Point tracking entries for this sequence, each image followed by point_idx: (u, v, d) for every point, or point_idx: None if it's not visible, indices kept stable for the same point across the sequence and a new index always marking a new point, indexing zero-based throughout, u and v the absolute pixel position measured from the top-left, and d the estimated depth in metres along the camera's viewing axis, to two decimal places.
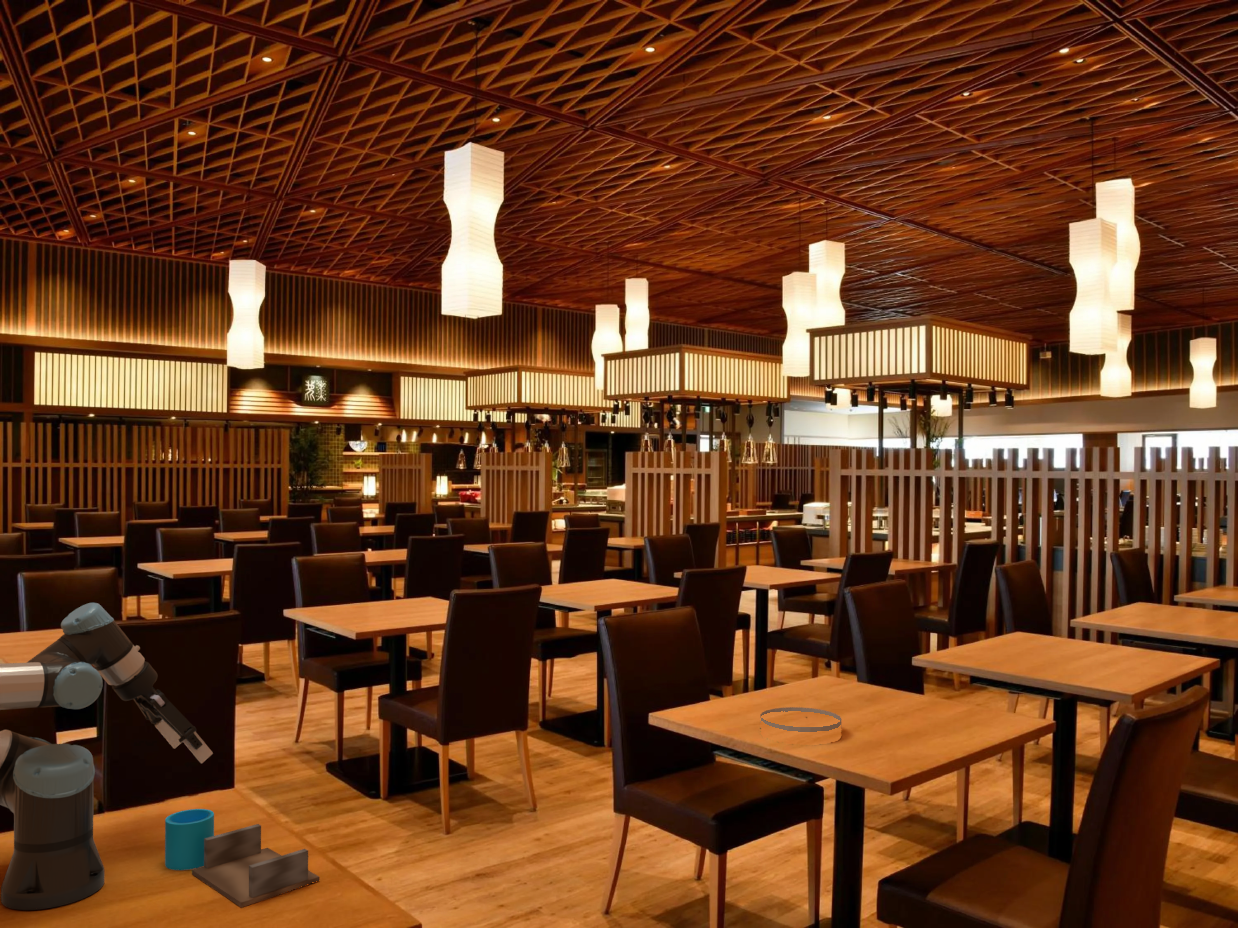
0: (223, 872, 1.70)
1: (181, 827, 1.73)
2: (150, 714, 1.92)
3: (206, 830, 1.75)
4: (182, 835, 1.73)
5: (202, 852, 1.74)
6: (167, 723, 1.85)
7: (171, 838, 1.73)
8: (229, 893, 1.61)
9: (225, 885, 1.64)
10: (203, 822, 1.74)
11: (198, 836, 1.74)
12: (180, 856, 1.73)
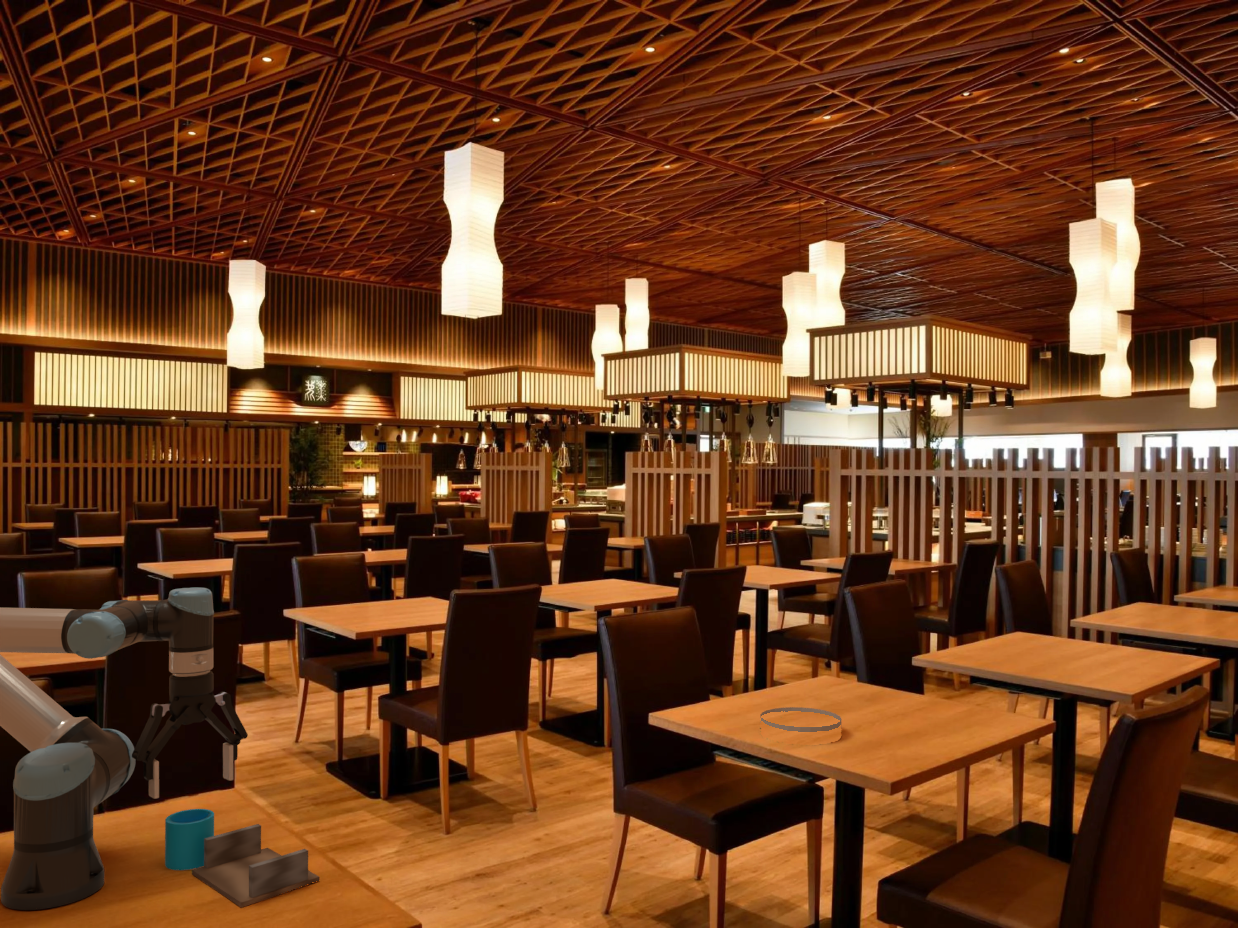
0: (223, 872, 1.70)
1: (181, 827, 1.73)
2: (214, 727, 1.83)
3: (206, 830, 1.75)
4: (182, 835, 1.73)
5: (202, 852, 1.74)
6: None
7: (171, 838, 1.73)
8: (229, 893, 1.61)
9: (225, 885, 1.64)
10: (203, 822, 1.74)
11: (198, 836, 1.74)
12: (180, 856, 1.73)
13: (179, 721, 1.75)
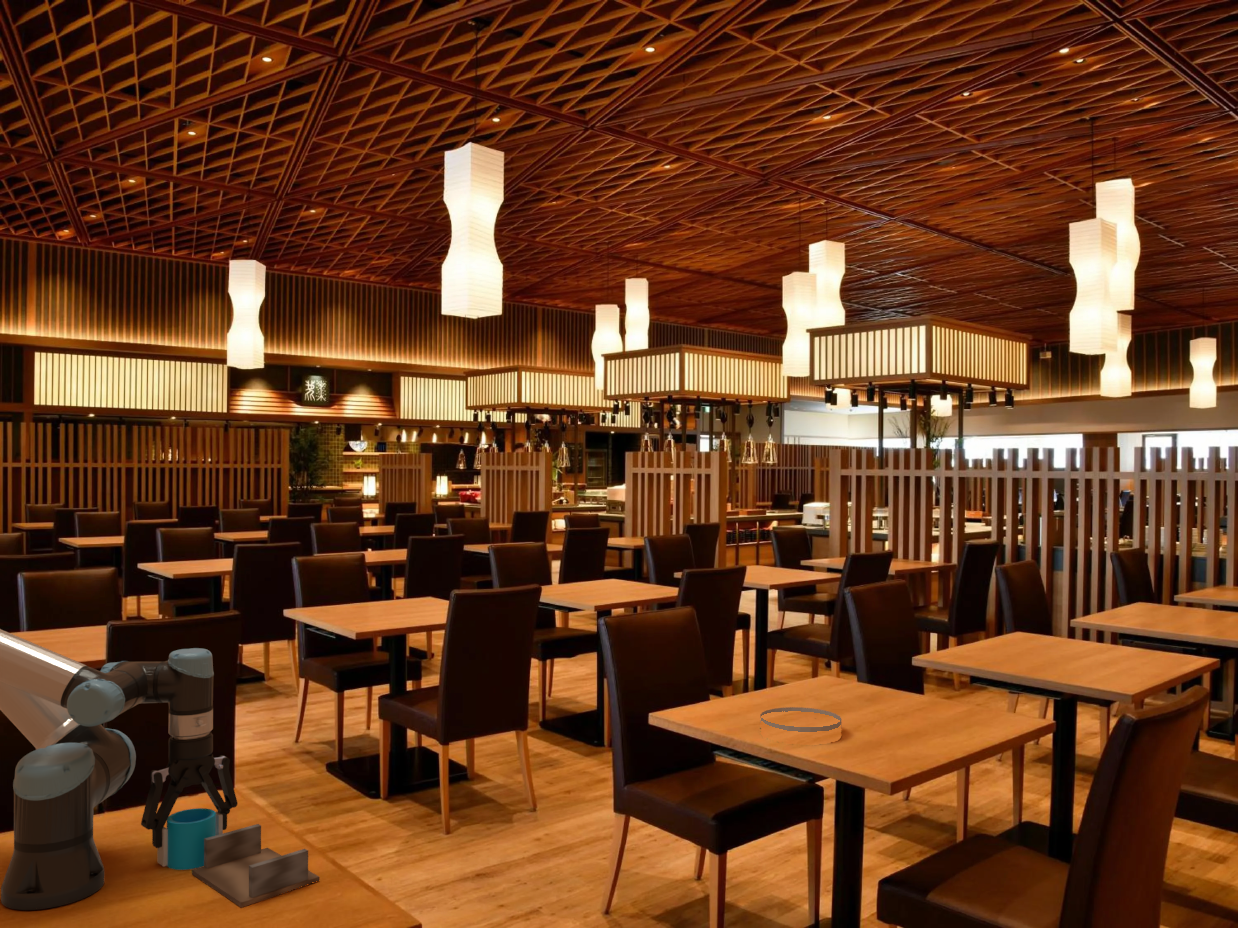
0: (223, 872, 1.70)
1: (183, 826, 1.73)
2: (207, 792, 1.82)
3: (208, 829, 1.75)
4: (184, 834, 1.73)
5: None
6: None
7: (173, 837, 1.73)
8: (229, 893, 1.61)
9: (225, 885, 1.64)
10: (205, 821, 1.75)
11: (199, 835, 1.74)
12: (181, 856, 1.73)
13: (180, 785, 1.76)
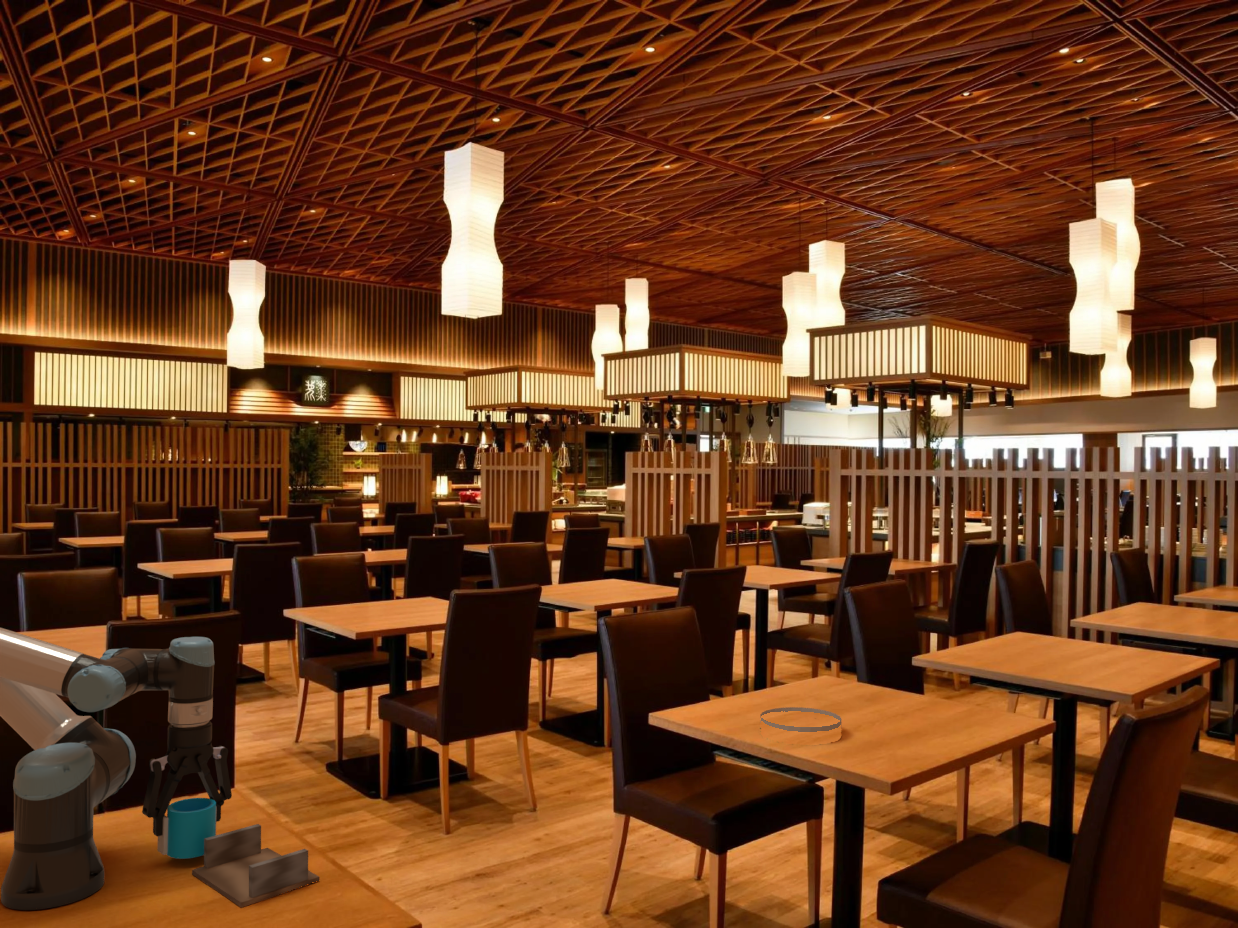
0: (223, 872, 1.70)
1: (183, 815, 1.73)
2: (202, 782, 1.81)
3: (208, 818, 1.76)
4: (184, 823, 1.73)
5: None
6: None
7: (173, 826, 1.74)
8: (229, 893, 1.61)
9: (225, 885, 1.64)
10: (205, 811, 1.75)
11: (200, 824, 1.74)
12: (181, 844, 1.73)
13: (180, 773, 1.76)
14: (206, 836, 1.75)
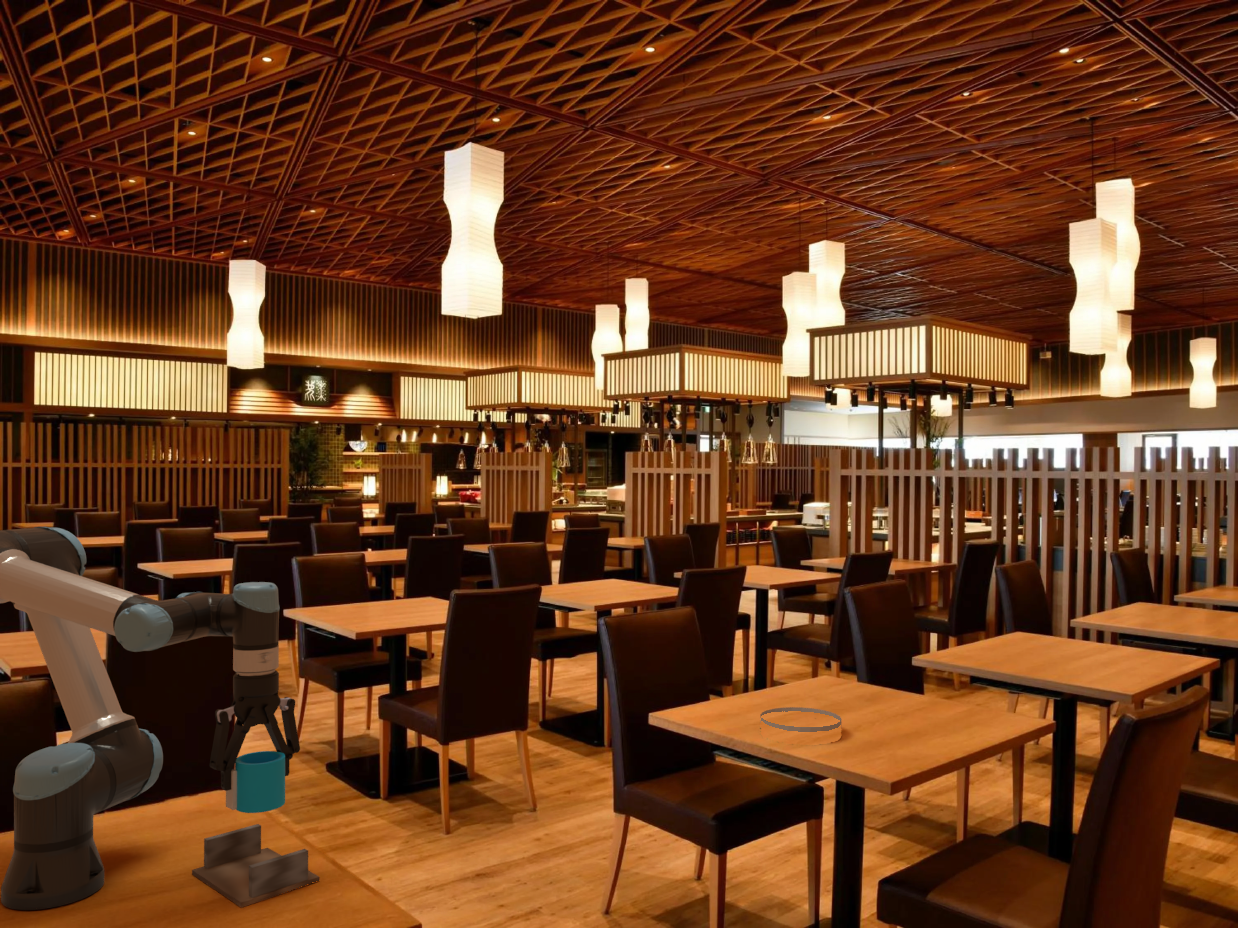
0: (223, 872, 1.70)
1: (253, 767, 1.64)
2: None
3: (278, 771, 1.67)
4: (254, 776, 1.64)
5: (275, 794, 1.66)
6: None
7: (242, 779, 1.65)
8: (229, 893, 1.61)
9: (225, 885, 1.64)
10: (275, 763, 1.66)
11: (270, 777, 1.65)
12: (252, 798, 1.64)
13: (247, 724, 1.67)
14: (277, 789, 1.66)
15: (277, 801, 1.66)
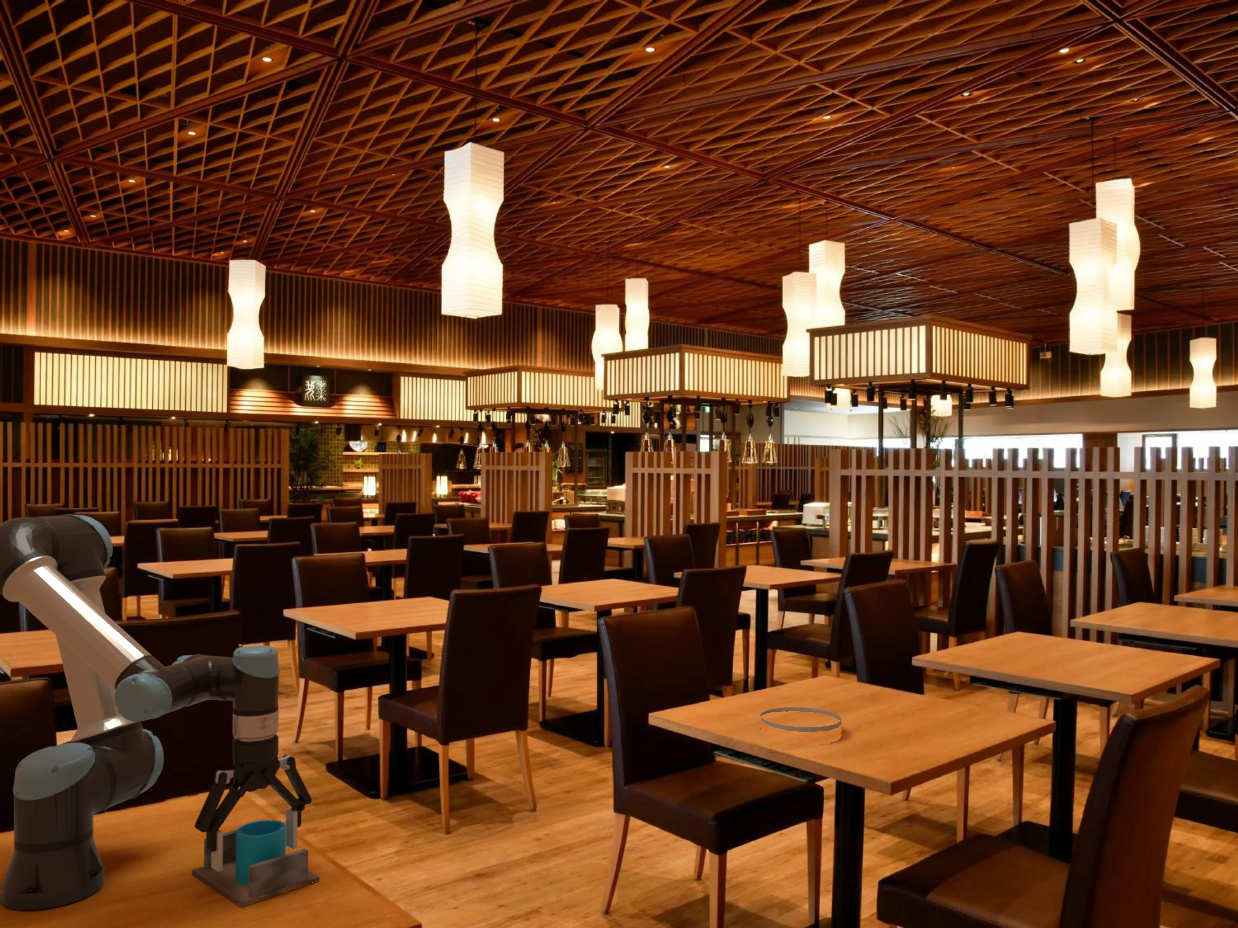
0: (223, 872, 1.70)
1: (254, 840, 1.64)
2: (277, 792, 1.73)
3: (279, 842, 1.67)
4: (255, 848, 1.64)
5: None
6: None
7: (243, 851, 1.65)
8: (229, 893, 1.61)
9: (225, 885, 1.64)
10: (276, 834, 1.66)
11: (271, 849, 1.65)
12: None
13: (243, 788, 1.66)
14: None
15: None
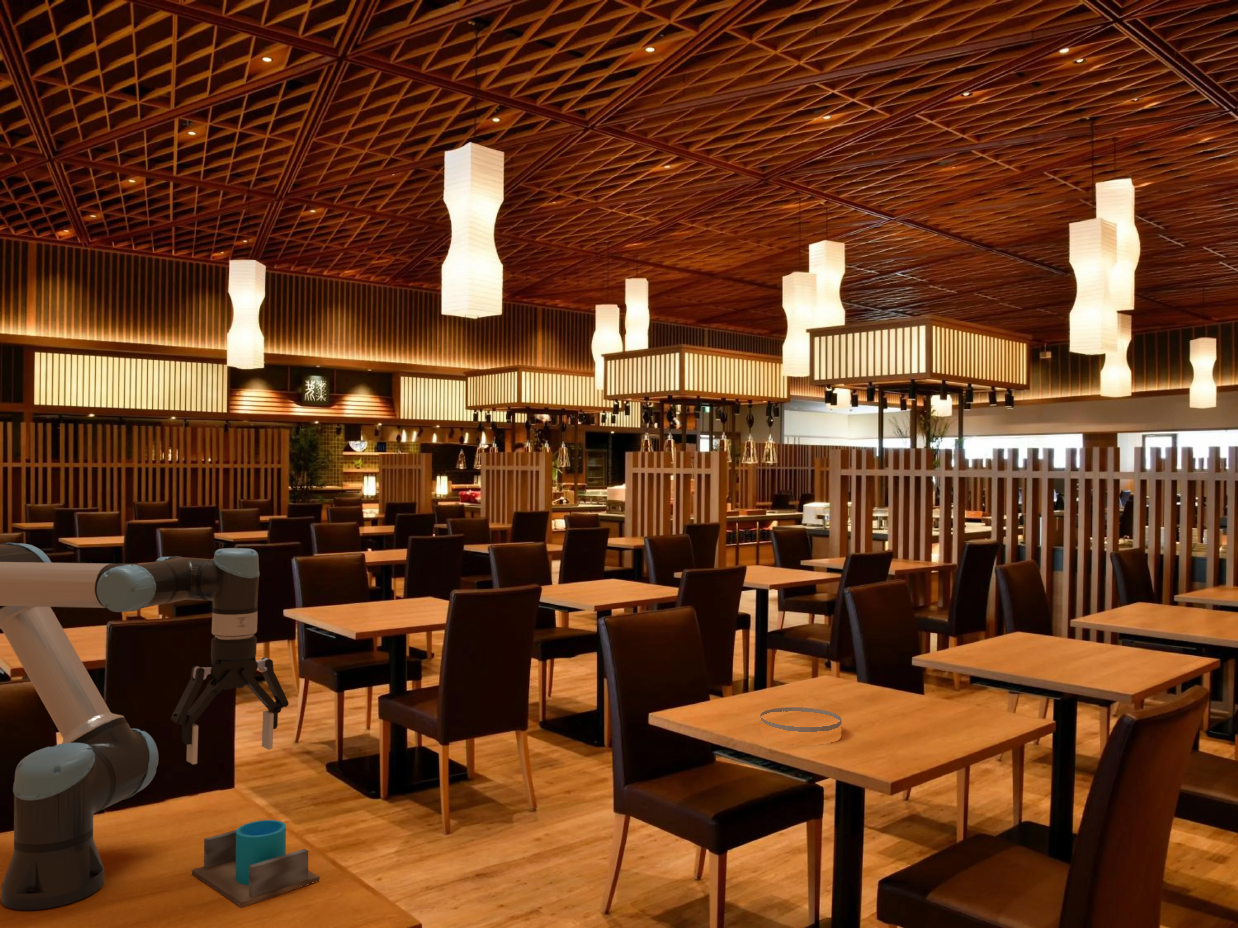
0: (223, 872, 1.70)
1: (254, 840, 1.64)
2: None
3: (279, 842, 1.67)
4: (255, 848, 1.64)
5: None
6: None
7: (243, 851, 1.65)
8: (229, 893, 1.61)
9: (225, 885, 1.64)
10: (276, 834, 1.66)
11: (271, 849, 1.65)
12: None
13: (220, 685, 1.69)
14: None
15: None
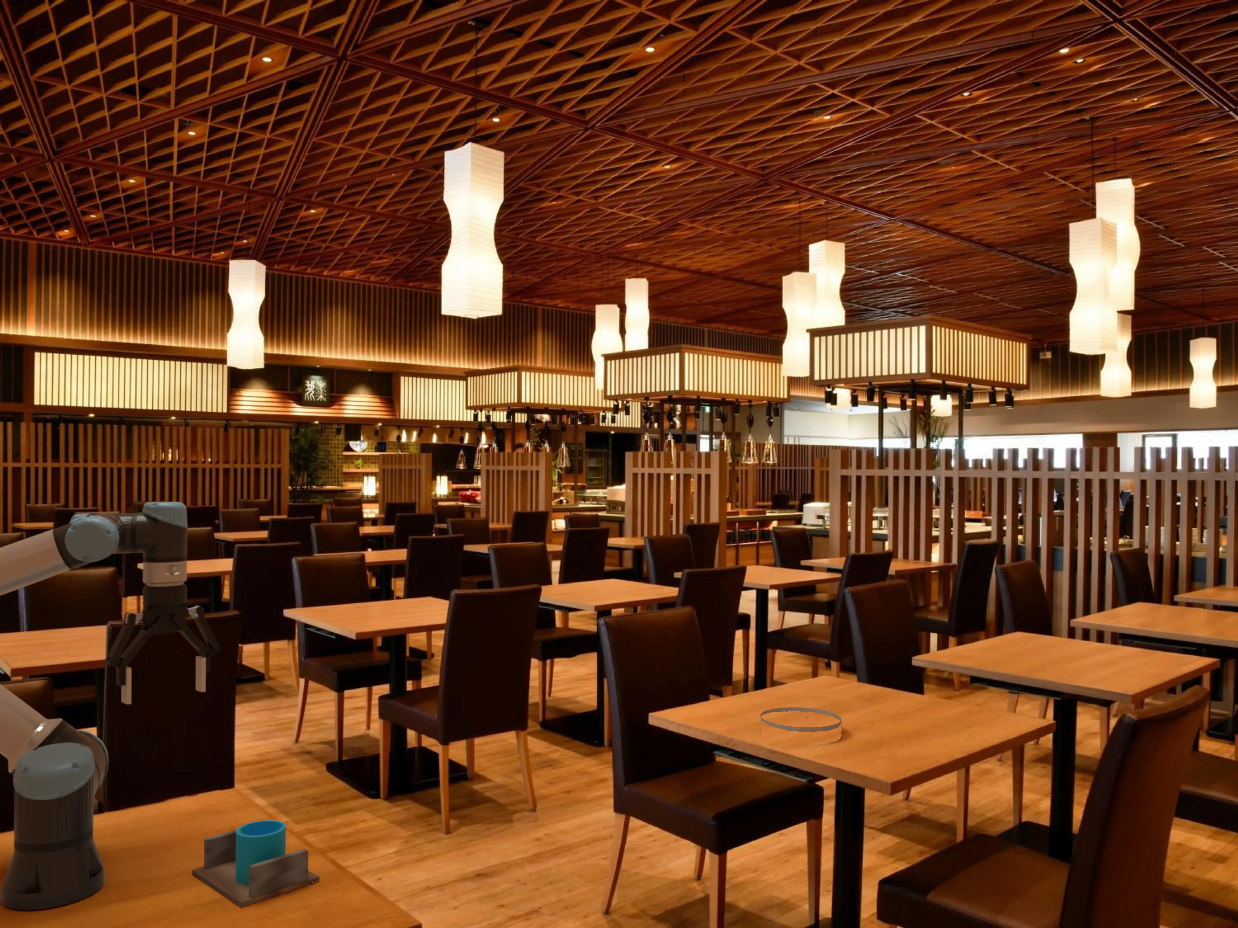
0: (223, 872, 1.70)
1: (254, 840, 1.64)
2: (187, 640, 1.86)
3: (279, 842, 1.67)
4: (255, 848, 1.64)
5: None
6: None
7: (243, 851, 1.65)
8: (229, 893, 1.61)
9: (225, 885, 1.64)
10: (276, 834, 1.66)
11: (271, 849, 1.65)
12: None
13: (152, 630, 1.79)
14: None
15: None
